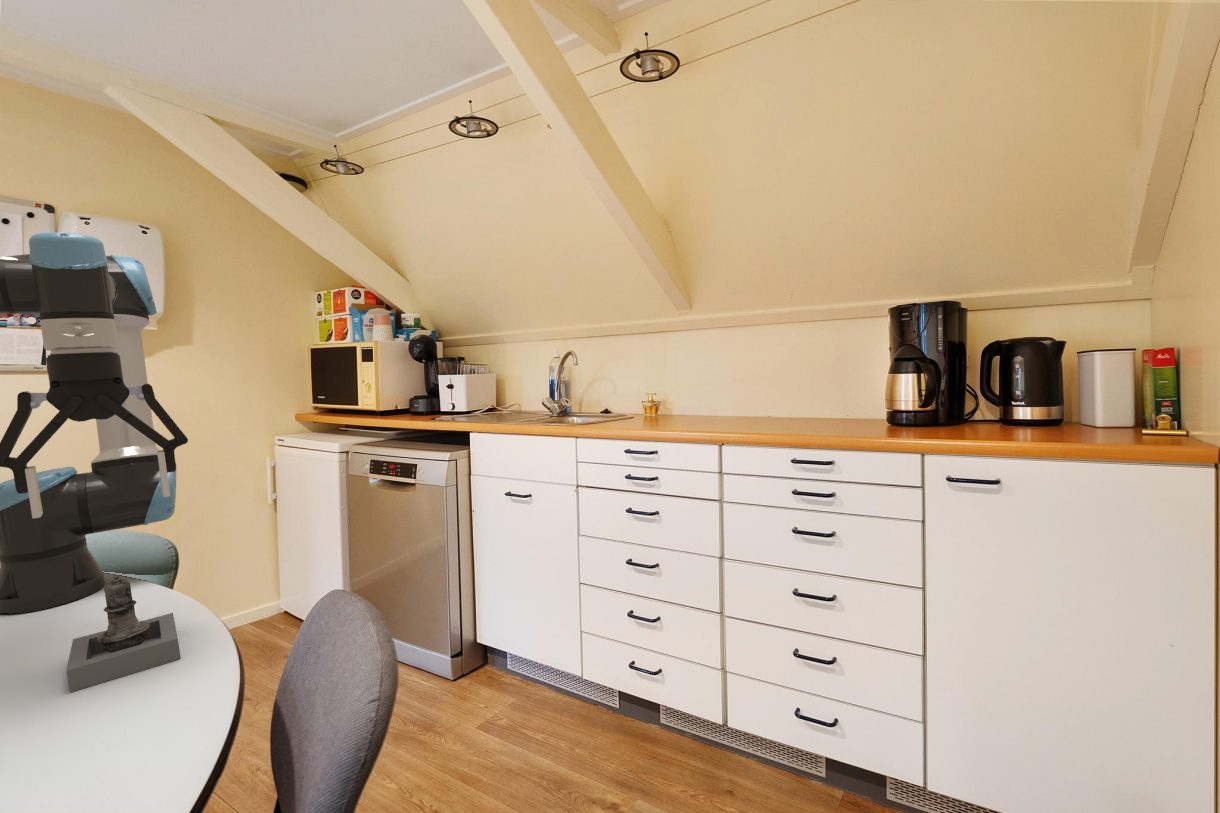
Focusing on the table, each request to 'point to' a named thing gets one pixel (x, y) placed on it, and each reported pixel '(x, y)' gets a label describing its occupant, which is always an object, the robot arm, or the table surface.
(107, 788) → the table surface
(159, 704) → the table surface
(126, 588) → the dark grey tall piece
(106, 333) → the robot arm
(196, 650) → the table surface
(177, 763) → the table surface
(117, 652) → the grey square tray
